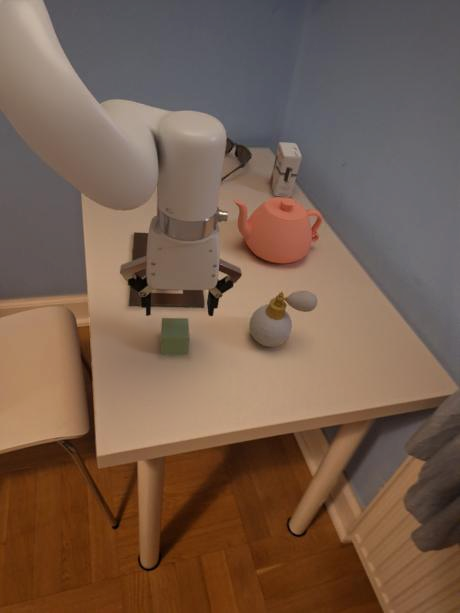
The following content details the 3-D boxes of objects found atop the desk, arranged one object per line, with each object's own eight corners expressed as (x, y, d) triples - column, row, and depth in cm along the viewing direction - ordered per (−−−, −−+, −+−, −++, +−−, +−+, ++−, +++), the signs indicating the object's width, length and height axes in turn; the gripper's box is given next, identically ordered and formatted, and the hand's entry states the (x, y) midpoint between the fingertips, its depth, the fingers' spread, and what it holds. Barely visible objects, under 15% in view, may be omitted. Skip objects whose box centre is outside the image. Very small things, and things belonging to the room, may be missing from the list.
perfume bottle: (239, 326, 75) (252, 279, 67) (284, 317, 79) (302, 270, 70) (256, 358, 71) (272, 311, 62) (303, 346, 74) (324, 300, 66)
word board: (128, 305, 75) (128, 303, 74) (134, 234, 90) (134, 231, 89) (204, 307, 77) (204, 305, 77) (197, 237, 92) (197, 235, 92)
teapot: (230, 269, 86) (240, 220, 78) (218, 226, 97) (226, 178, 88) (324, 269, 92) (344, 223, 83) (304, 228, 102) (319, 183, 93)
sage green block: (160, 354, 68) (161, 338, 65) (160, 334, 71) (161, 317, 68) (187, 354, 69) (189, 338, 66) (185, 334, 72) (188, 318, 69)
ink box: (269, 180, 117) (279, 140, 108) (285, 182, 118) (296, 142, 109) (273, 196, 111) (284, 155, 102) (290, 198, 112) (303, 157, 103)
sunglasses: (256, 167, 121) (258, 152, 117) (220, 190, 112) (221, 175, 108) (213, 146, 126) (214, 130, 123) (176, 166, 117) (176, 150, 114)
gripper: (248, 205, 56) (230, 293, 68) (118, 197, 53) (124, 291, 65) (257, 238, 51) (236, 327, 63) (114, 231, 48) (121, 327, 60)
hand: (179, 309), depth 64 cm, fingers open, 9 cm apart
